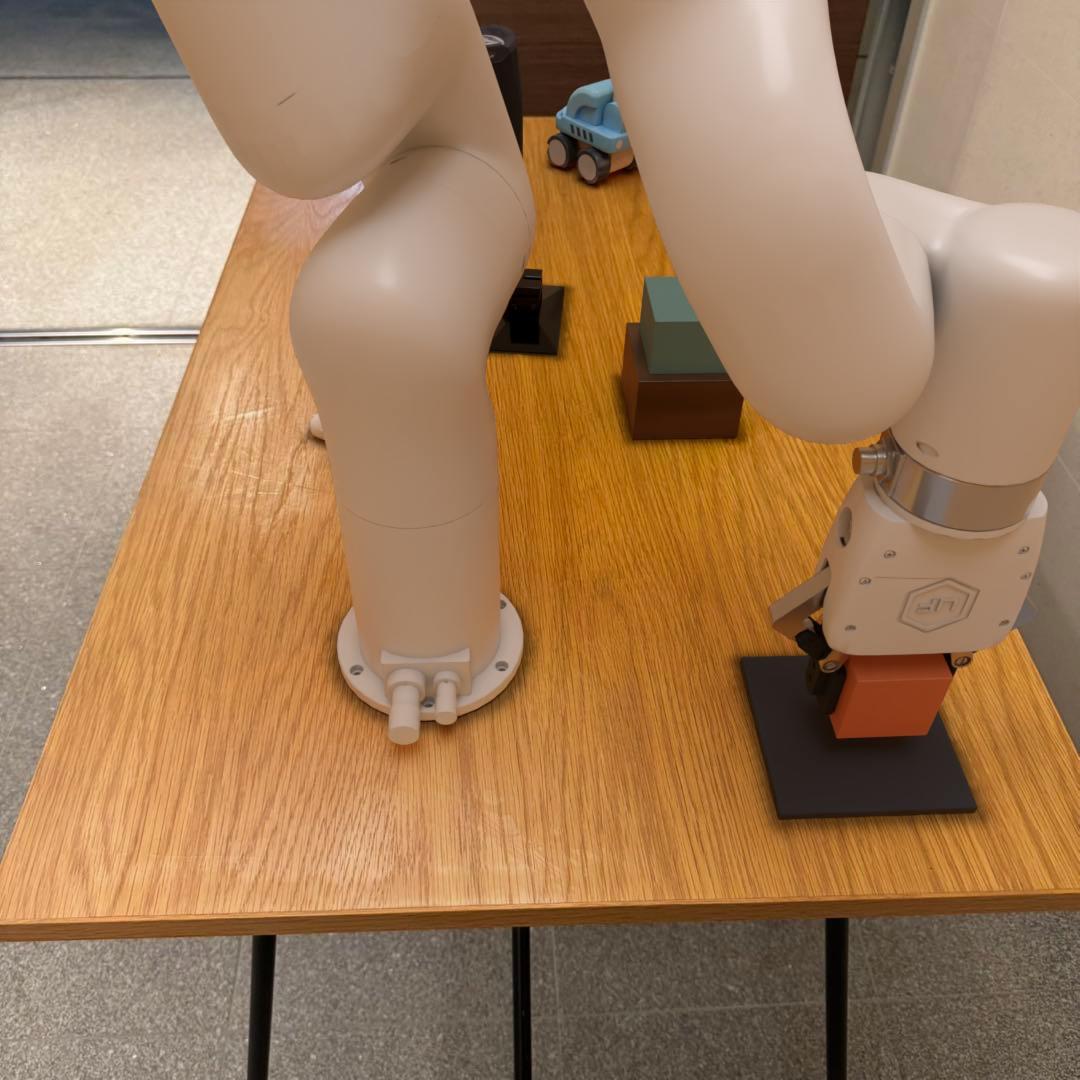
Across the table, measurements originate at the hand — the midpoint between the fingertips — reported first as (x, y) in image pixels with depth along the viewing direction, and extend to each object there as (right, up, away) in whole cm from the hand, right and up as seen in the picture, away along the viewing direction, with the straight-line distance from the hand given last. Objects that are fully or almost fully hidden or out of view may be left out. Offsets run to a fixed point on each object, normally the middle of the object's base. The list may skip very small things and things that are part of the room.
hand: (871, 692), depth 61 cm
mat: (0, -3, +3) cm, 4 cm away
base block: (-8, +21, +28) cm, 36 cm away
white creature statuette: (-34, +19, +25) cm, 46 cm away
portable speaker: (-27, +46, +54) cm, 76 cm away
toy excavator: (-11, +54, +62) cm, 84 cm away
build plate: (-22, +31, +38) cm, 54 cm away
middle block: (-8, +25, +24) cm, 36 cm away
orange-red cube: (0, -1, +1) cm, 1 cm away
